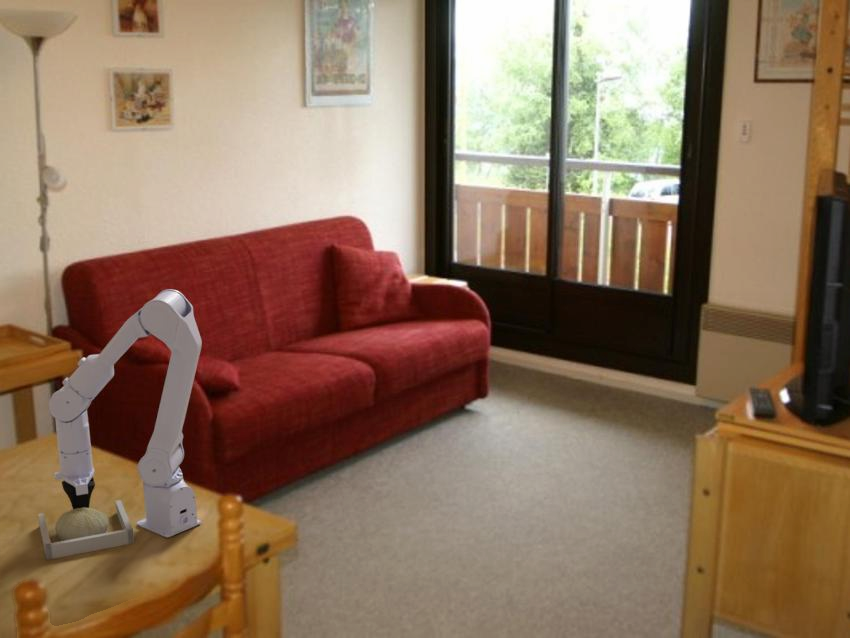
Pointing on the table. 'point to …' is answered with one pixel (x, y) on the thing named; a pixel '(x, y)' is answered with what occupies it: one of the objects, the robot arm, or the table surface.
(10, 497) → the table surface
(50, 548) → the grey u-shaped bracket
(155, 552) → the table surface
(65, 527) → the sea urchin shell
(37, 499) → the table surface
